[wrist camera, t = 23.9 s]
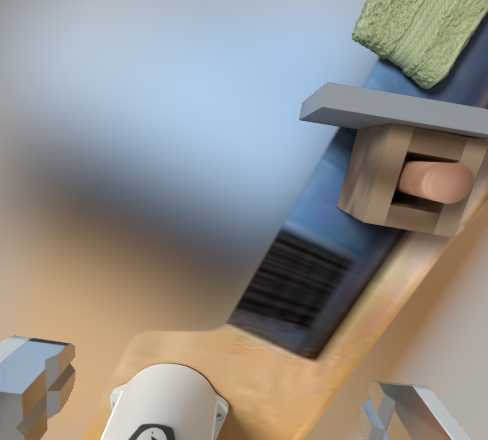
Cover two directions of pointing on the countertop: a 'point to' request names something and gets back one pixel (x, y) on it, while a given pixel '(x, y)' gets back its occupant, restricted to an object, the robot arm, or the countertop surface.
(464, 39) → the washcloth
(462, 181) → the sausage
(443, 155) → the block
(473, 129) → the wall
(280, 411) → the countertop surface
